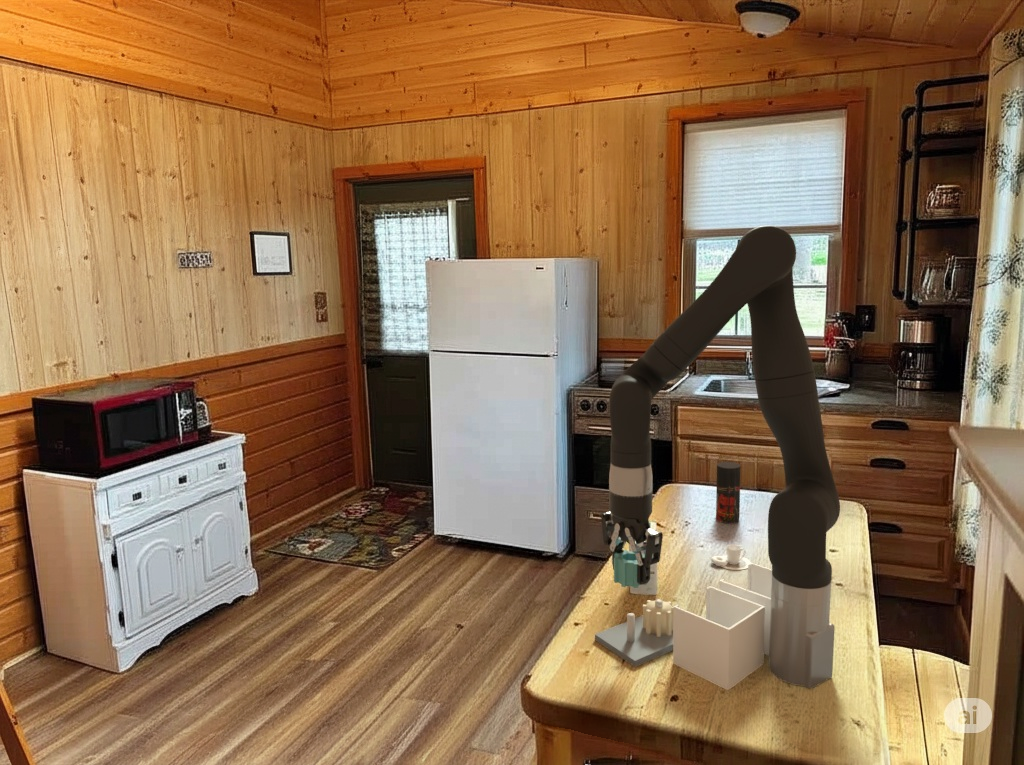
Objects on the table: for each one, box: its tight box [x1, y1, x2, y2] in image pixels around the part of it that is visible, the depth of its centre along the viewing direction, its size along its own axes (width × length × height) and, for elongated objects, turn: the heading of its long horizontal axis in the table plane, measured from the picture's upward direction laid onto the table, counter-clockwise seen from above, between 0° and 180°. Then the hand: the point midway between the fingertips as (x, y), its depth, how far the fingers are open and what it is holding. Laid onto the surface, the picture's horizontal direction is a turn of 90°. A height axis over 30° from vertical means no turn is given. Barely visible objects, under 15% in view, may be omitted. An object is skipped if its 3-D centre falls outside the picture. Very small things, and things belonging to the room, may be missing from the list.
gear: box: [613, 549, 647, 588], centre depth 130 cm, size 6×6×4 cm
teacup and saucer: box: [710, 544, 752, 571], centre depth 166 cm, size 9×8×4 cm
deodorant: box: [715, 461, 742, 525], centre depth 191 cm, size 6×6×15 cm
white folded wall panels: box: [672, 562, 772, 691], centre depth 130 cm, size 25×11×11 cm, turn 131°
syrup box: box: [628, 519, 658, 596], centre depth 154 cm, size 6×6×14 cm
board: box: [594, 598, 675, 668], centre depth 134 cm, size 11×14×7 cm
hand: (630, 576), depth 131 cm, fingers closed on gear, 6 cm apart
